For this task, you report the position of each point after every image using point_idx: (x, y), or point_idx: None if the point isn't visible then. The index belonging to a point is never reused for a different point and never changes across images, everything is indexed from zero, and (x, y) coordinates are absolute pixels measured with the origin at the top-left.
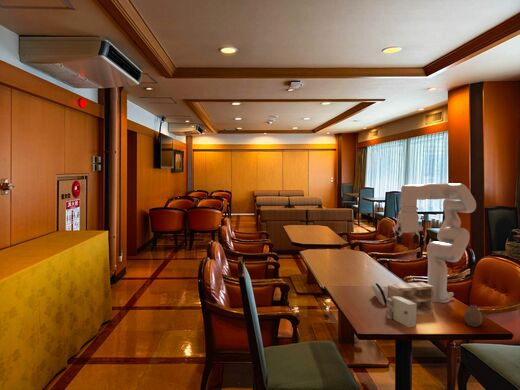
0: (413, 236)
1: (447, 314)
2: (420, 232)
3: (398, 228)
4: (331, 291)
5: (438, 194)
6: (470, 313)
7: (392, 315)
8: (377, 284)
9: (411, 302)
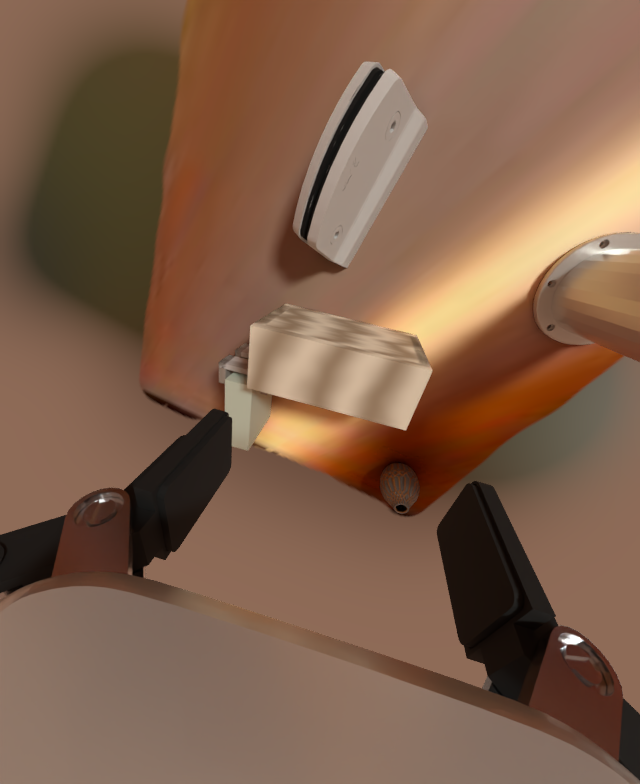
0: (504, 587)
1: (425, 408)
2: None
3: (8, 698)
4: None
5: None
6: (382, 494)
7: None
8: (338, 148)
9: (243, 438)
